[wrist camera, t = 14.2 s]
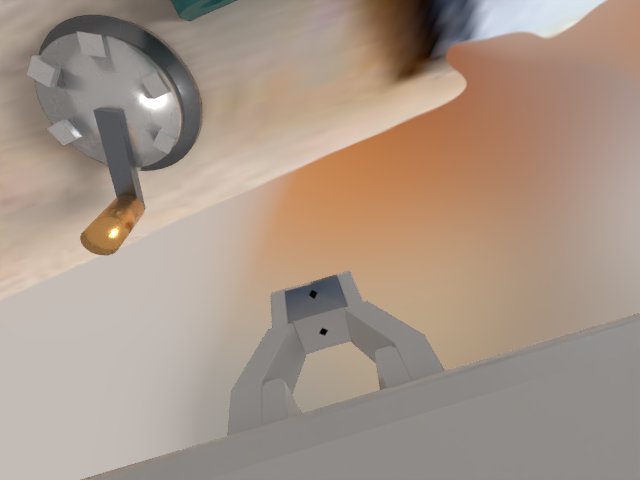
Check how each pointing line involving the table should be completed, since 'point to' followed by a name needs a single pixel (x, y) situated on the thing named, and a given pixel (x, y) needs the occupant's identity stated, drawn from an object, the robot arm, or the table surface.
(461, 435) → the robot arm
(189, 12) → the bracket
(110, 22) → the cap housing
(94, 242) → the lugged valve handwheel
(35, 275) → the table surface
